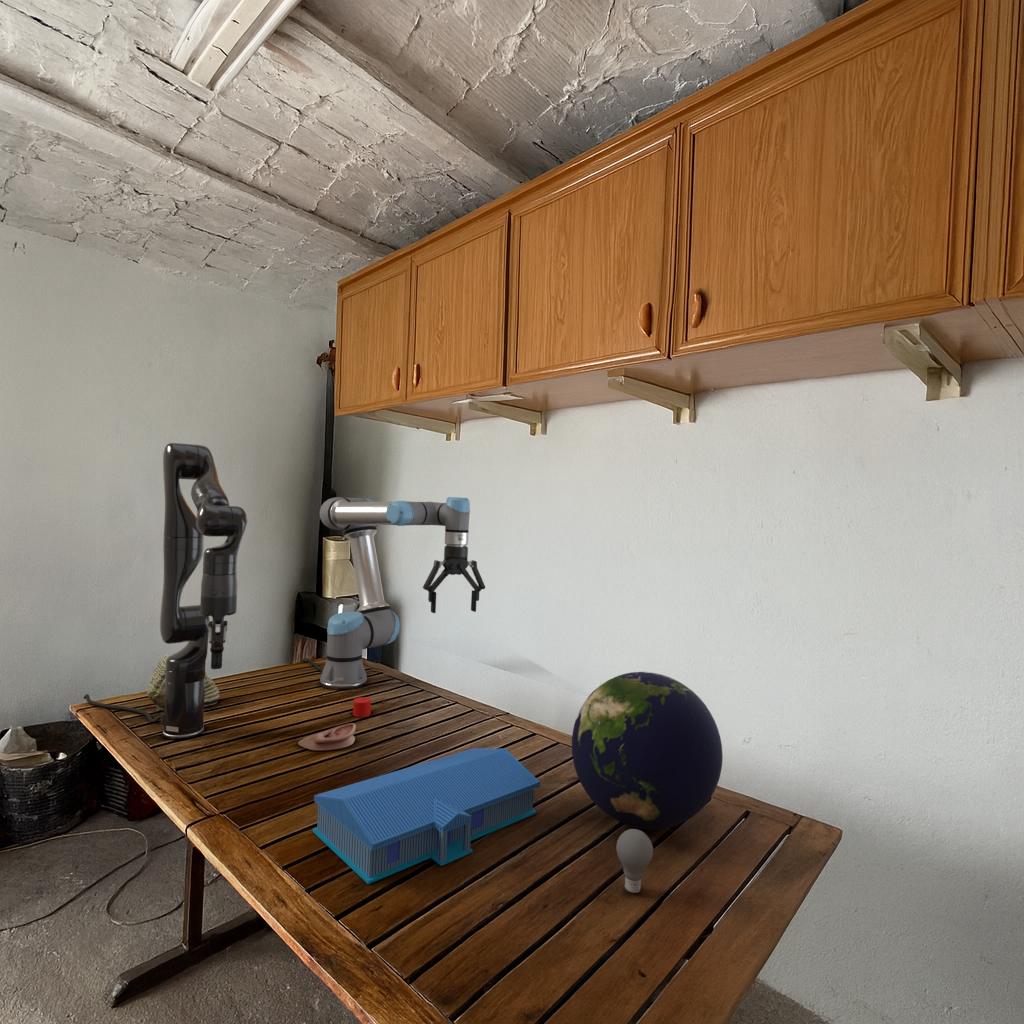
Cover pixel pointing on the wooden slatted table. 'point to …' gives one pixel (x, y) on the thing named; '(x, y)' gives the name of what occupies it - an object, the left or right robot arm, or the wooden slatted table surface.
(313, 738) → the anatomical model
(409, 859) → the model building
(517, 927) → the wooden slatted table surface
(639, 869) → the light bulb
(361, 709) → the tin
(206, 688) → the fossil
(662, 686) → the globe
